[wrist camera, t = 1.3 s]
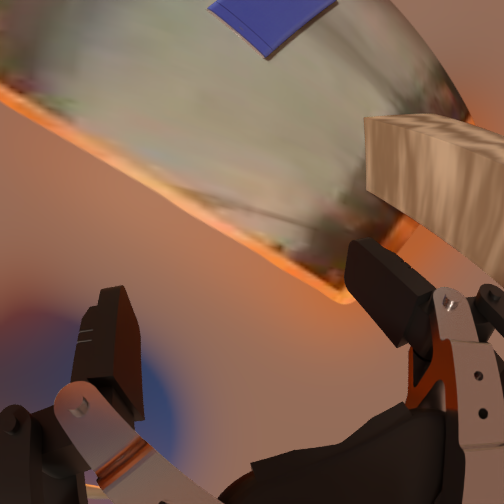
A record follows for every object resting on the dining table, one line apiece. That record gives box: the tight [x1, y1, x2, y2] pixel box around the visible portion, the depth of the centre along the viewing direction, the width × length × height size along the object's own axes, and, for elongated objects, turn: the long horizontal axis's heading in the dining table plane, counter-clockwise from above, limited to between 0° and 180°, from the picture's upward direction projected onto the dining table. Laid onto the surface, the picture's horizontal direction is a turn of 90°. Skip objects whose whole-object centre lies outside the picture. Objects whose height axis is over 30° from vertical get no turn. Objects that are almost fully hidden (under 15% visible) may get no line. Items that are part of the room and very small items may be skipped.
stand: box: [364, 113, 504, 288], centre depth 21 cm, size 14×10×34 cm
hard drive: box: [207, 0, 336, 59], centre depth 21 cm, size 2×8×12 cm
